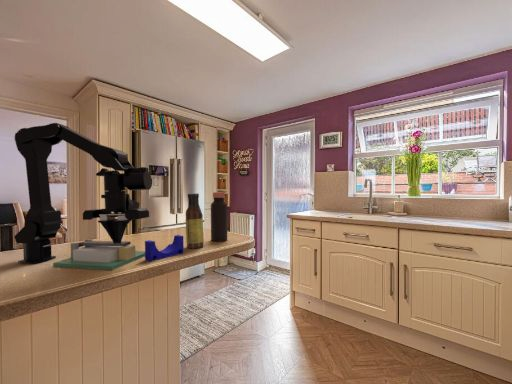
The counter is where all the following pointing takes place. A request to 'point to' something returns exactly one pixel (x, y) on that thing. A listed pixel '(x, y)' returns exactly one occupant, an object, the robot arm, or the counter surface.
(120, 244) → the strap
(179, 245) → the blue cradle block
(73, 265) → the board
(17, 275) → the counter surface
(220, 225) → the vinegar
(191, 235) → the sauce bottle
